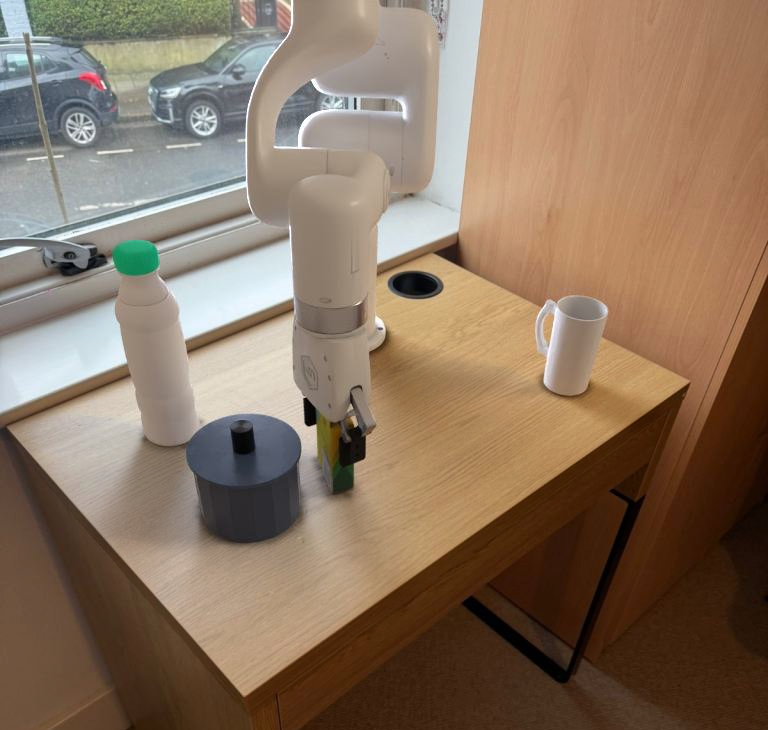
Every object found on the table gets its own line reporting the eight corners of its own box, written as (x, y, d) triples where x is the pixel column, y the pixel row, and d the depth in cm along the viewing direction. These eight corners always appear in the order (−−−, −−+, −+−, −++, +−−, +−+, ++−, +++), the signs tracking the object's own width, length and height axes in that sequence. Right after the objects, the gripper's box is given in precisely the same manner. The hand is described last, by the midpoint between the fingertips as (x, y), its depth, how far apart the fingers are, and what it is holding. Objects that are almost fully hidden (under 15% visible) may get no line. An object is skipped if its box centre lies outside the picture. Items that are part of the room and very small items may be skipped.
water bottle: (210, 422, 100) (180, 238, 83) (183, 454, 95) (144, 266, 78) (163, 410, 102) (123, 227, 84) (134, 441, 97) (85, 254, 80)
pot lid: (164, 454, 83) (157, 425, 80) (253, 407, 90) (249, 378, 87) (235, 511, 77) (231, 481, 74) (325, 456, 84) (324, 426, 81)
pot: (182, 507, 89) (170, 450, 83) (258, 462, 95) (252, 407, 89) (244, 558, 83) (235, 502, 77) (320, 507, 89) (318, 451, 83)
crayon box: (355, 490, 91) (355, 411, 83) (330, 495, 90) (328, 416, 82) (339, 452, 96) (338, 374, 88) (316, 456, 95) (313, 377, 87)
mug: (598, 385, 109) (618, 309, 101) (569, 403, 106) (588, 326, 97) (543, 355, 114) (558, 281, 106) (514, 372, 111) (527, 296, 102)
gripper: (261, 279, 81) (273, 412, 93) (341, 358, 71) (342, 496, 83) (323, 263, 84) (327, 394, 96) (408, 337, 74) (400, 473, 86)
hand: (334, 441), depth 90 cm, fingers closed on crayon box, 7 cm apart
